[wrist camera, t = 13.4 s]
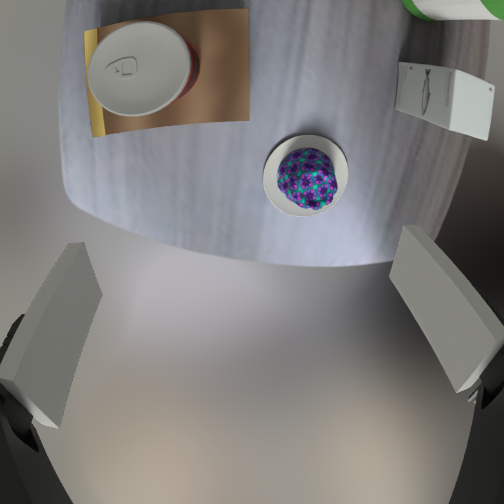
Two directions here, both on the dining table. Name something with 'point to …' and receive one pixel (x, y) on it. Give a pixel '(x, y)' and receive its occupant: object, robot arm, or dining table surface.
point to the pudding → (305, 176)
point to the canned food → (142, 68)
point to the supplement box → (446, 98)
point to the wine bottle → (455, 9)
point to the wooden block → (209, 80)
